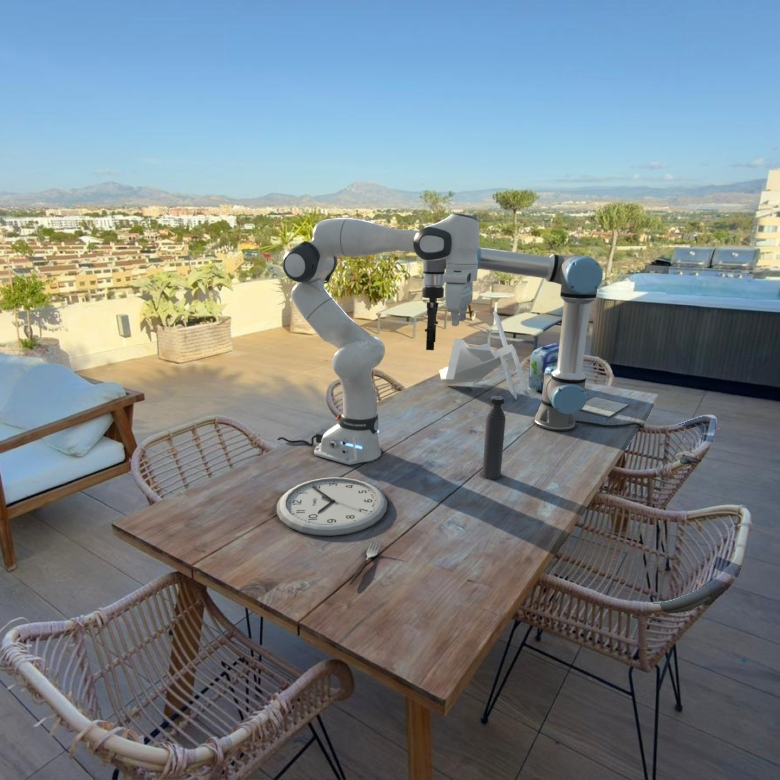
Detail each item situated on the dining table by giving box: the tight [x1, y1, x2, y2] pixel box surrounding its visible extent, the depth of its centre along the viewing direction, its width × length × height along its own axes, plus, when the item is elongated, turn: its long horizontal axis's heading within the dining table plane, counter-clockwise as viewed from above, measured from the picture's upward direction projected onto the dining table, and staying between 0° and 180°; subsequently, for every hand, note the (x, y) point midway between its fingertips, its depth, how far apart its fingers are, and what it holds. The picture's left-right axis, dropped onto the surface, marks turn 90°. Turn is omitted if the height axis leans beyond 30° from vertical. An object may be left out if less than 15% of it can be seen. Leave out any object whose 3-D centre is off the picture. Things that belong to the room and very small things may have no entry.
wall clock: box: [276, 476, 388, 537], centre depth 142 cm, size 30×2×30 cm
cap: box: [490, 395, 505, 406], centre depth 155 cm, size 4×4×2 cm
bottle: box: [481, 404, 507, 480], centre depth 158 cm, size 6×6×25 cm
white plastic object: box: [438, 310, 531, 400], centre depth 245 cm, size 37×45×31 cm
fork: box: [349, 538, 383, 585], centre depth 117 cm, size 3×16×2 cm, turn 160°
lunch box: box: [528, 343, 560, 392], centre depth 249 cm, size 26×11×21 cm, turn 134°
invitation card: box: [580, 396, 629, 418], centre depth 226 cm, size 21×1×15 cm
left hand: (458, 322), depth 151 cm, fingers open, 8 cm apart
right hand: (430, 345), depth 188 cm, fingers open, 13 cm apart
